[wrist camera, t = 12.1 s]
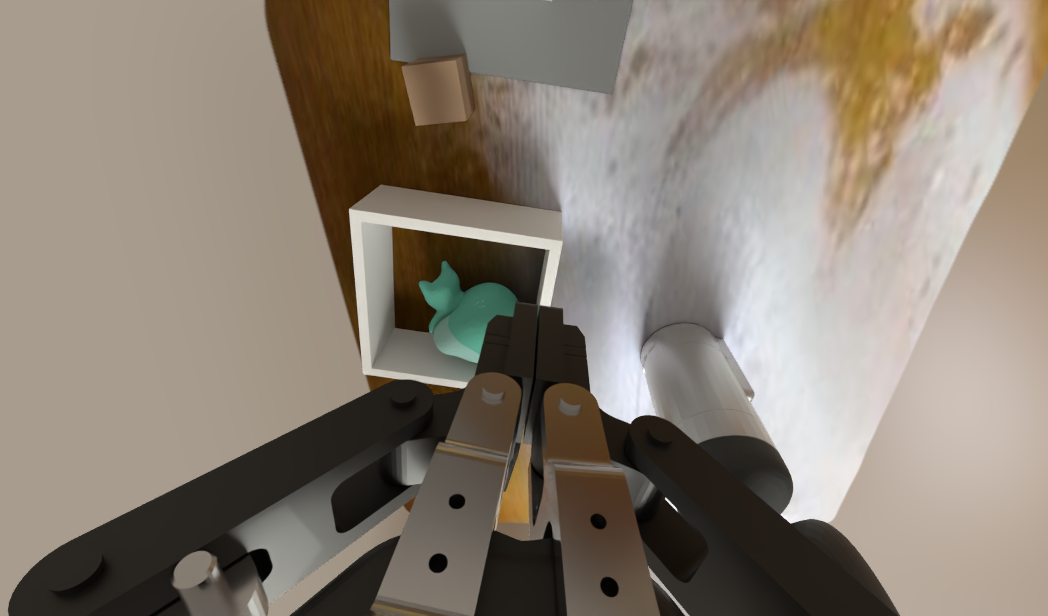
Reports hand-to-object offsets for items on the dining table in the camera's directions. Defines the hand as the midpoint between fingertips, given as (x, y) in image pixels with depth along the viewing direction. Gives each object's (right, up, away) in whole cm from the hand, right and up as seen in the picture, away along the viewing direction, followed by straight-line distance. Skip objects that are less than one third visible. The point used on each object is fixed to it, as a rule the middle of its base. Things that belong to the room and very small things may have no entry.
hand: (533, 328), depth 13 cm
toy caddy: (-7, +4, +36) cm, 36 cm away
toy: (-5, +2, +37) cm, 38 cm away
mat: (-1, +27, +21) cm, 34 cm away
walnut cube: (-7, +21, +25) cm, 33 cm away
